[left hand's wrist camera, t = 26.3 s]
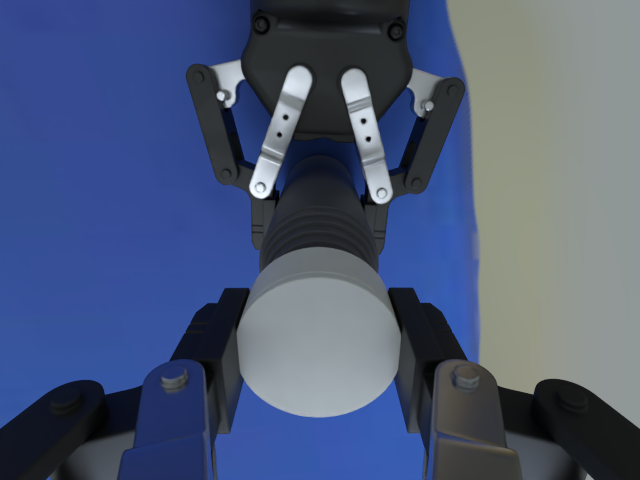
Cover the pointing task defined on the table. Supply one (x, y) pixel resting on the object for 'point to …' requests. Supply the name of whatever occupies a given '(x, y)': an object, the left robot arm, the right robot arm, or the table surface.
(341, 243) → the bottle
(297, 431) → the table surface
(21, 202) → the table surface
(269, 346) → the cap
